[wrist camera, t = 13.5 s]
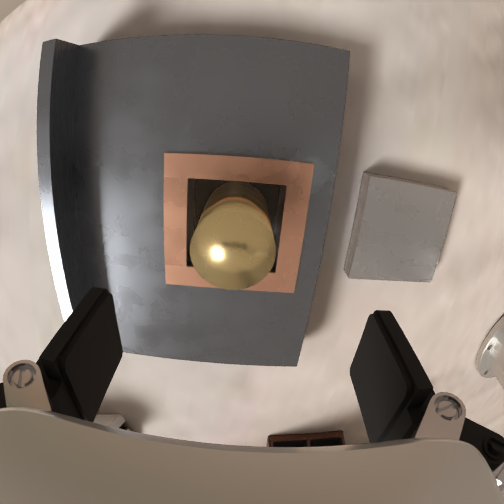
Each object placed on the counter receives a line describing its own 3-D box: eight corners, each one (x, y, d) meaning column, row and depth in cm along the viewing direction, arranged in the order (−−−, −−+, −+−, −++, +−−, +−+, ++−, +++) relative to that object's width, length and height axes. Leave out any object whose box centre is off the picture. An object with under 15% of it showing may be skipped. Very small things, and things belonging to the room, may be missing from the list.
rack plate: (336, 58, 18) (367, 42, 13) (292, 343, 28) (301, 392, 23) (86, 53, 17) (42, 42, 12) (103, 326, 27) (80, 369, 22)
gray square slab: (446, 188, 22) (456, 193, 21) (423, 273, 25) (430, 282, 24) (363, 171, 22) (370, 176, 20) (343, 269, 25) (348, 278, 24)
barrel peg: (270, 184, 22) (280, 215, 16) (264, 242, 24) (270, 292, 18) (206, 179, 22) (190, 208, 15) (204, 238, 24) (189, 286, 17)
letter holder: (259, 487, 43) (262, 555, 31) (267, 433, 35) (273, 532, 22) (315, 483, 44) (325, 549, 31) (343, 428, 35) (364, 520, 23)
